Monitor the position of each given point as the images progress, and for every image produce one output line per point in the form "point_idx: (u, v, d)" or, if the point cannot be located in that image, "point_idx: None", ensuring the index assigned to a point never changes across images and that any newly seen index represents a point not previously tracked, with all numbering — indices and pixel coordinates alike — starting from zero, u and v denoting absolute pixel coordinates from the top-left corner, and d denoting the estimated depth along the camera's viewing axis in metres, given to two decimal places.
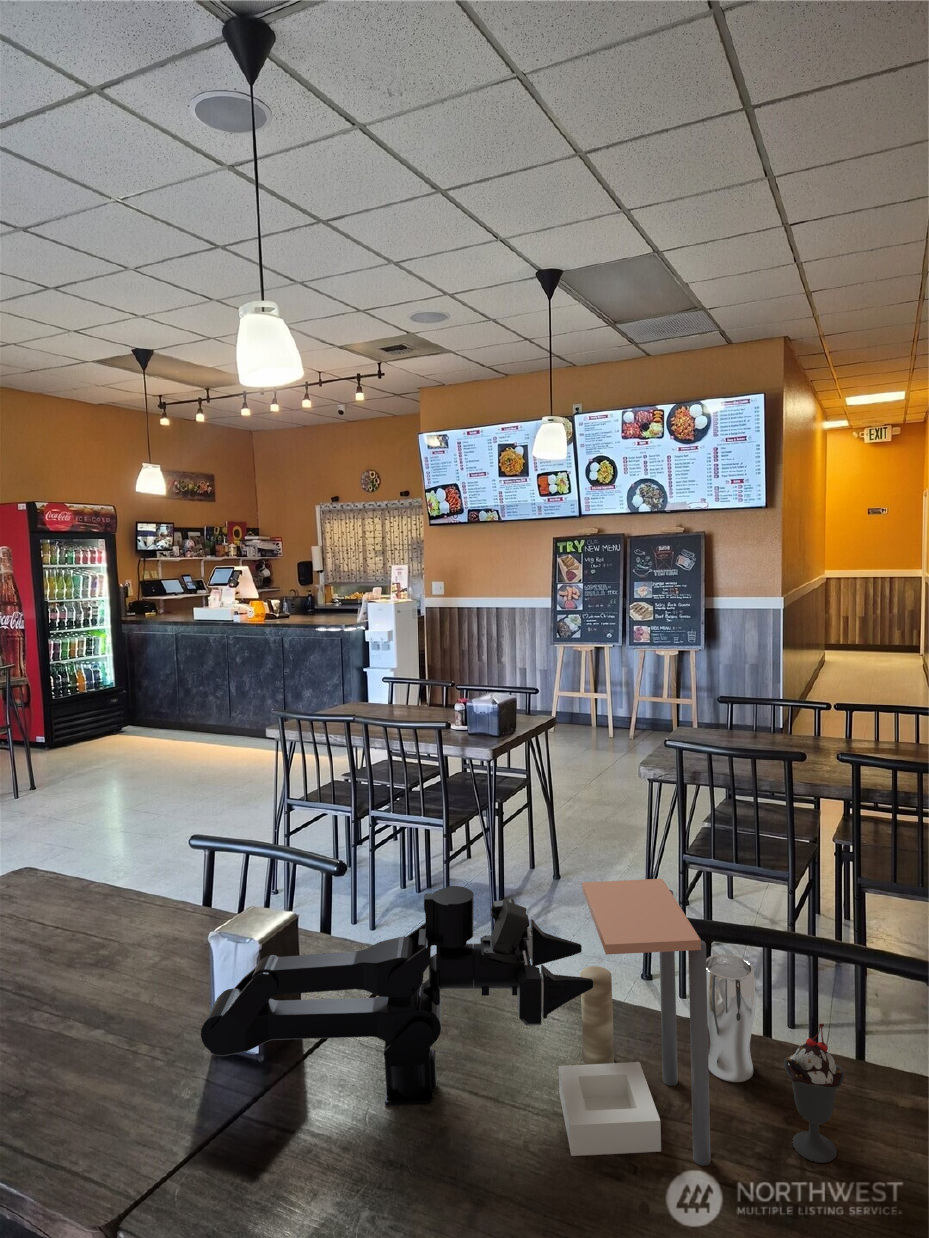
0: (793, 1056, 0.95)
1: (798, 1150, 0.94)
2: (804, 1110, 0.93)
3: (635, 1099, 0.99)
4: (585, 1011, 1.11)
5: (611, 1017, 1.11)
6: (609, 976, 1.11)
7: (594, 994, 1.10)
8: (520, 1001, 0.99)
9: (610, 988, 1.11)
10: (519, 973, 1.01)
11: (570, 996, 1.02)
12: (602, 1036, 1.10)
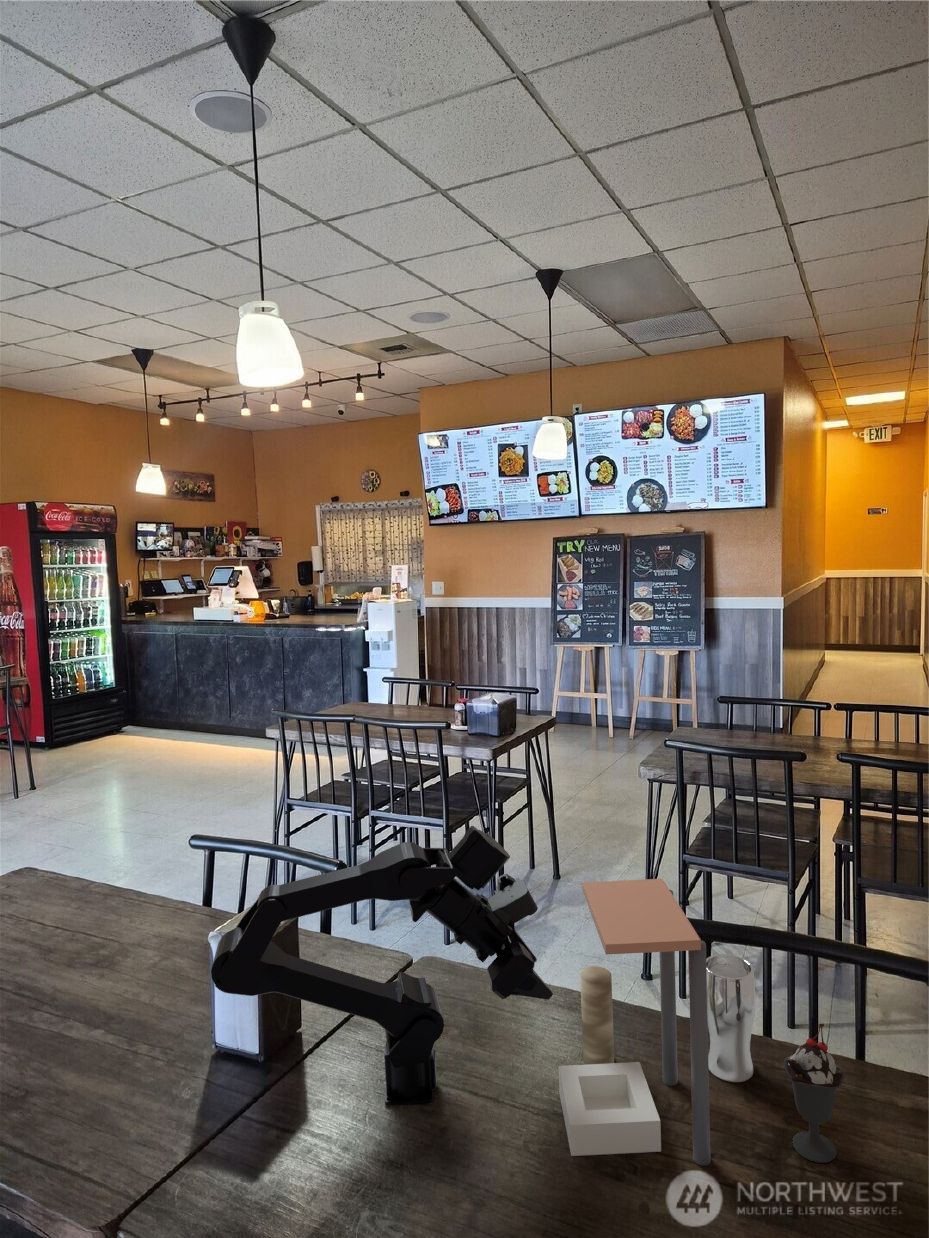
0: (793, 1056, 0.95)
1: (798, 1150, 0.94)
2: (804, 1110, 0.93)
3: (635, 1099, 0.99)
4: (585, 1011, 1.11)
5: (611, 1017, 1.11)
6: (609, 976, 1.11)
7: (594, 994, 1.10)
8: (504, 968, 1.00)
9: (610, 988, 1.11)
10: (512, 945, 1.03)
11: (530, 993, 1.04)
12: (602, 1036, 1.10)
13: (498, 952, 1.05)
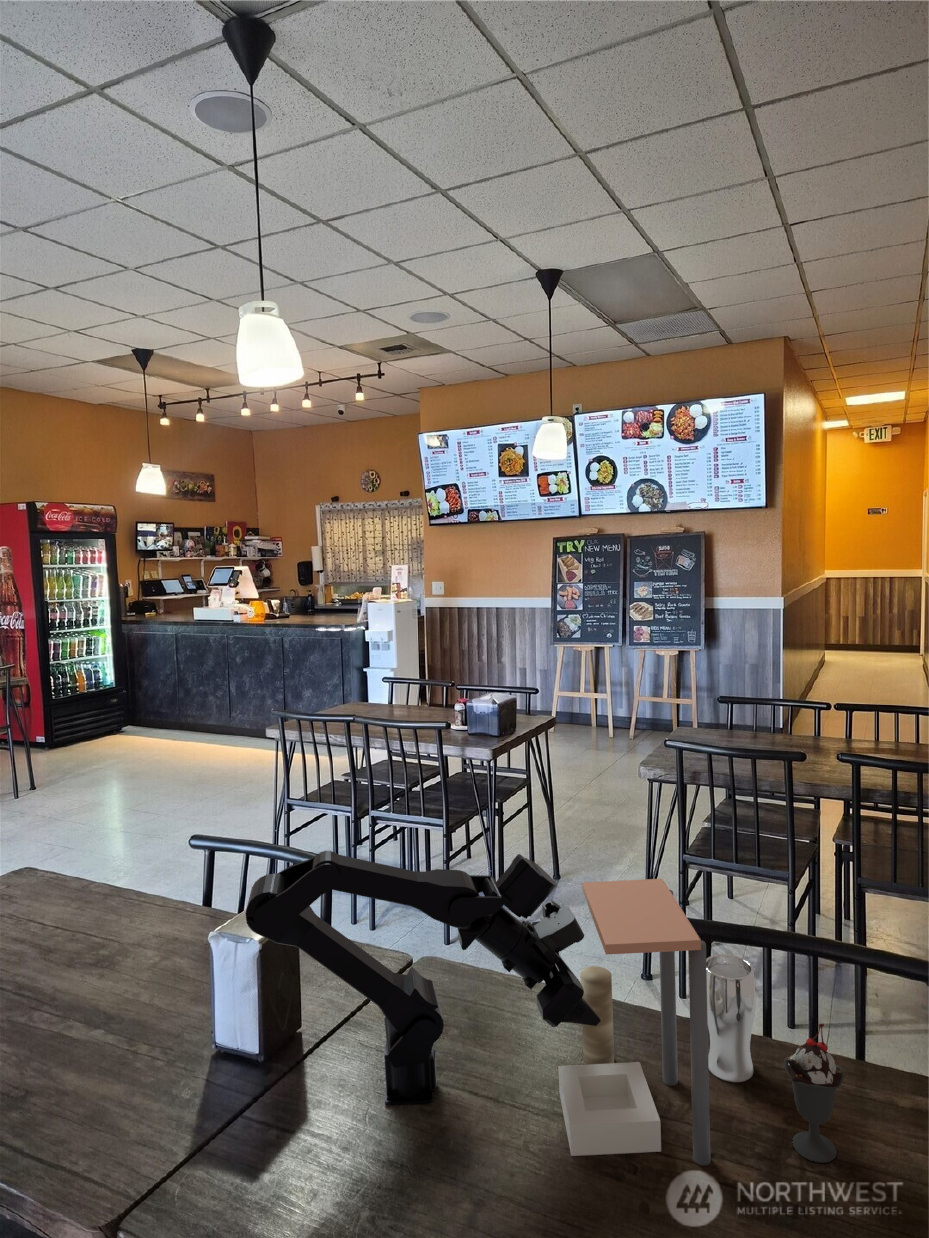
0: (793, 1056, 0.95)
1: (798, 1150, 0.94)
2: (804, 1110, 0.93)
3: (635, 1099, 0.99)
4: None
5: (611, 1017, 1.11)
6: (609, 976, 1.11)
7: (594, 994, 1.10)
8: (555, 996, 1.02)
9: (610, 988, 1.11)
10: (561, 973, 1.04)
11: (579, 1020, 1.06)
12: (602, 1036, 1.10)
13: (546, 979, 1.07)
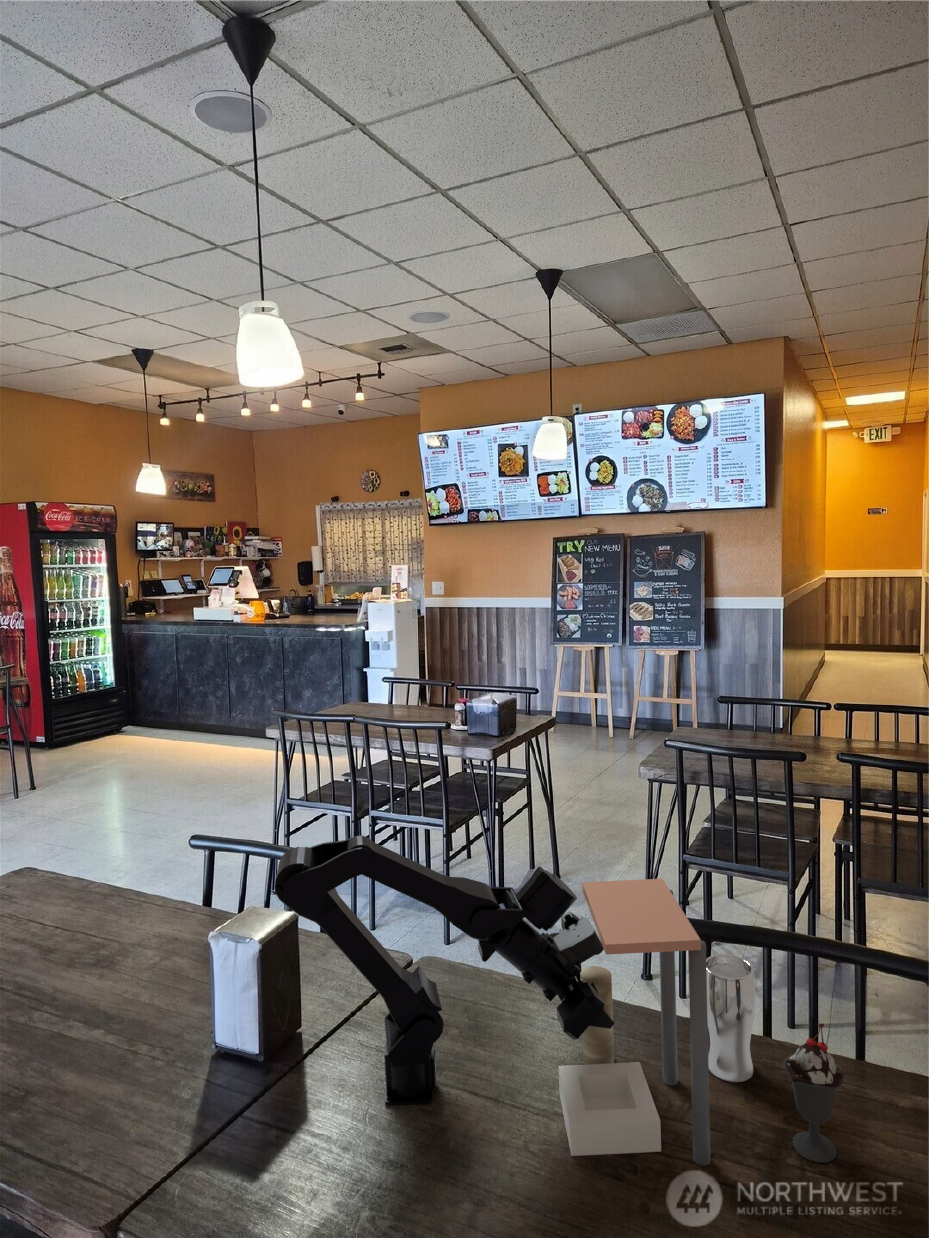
0: (793, 1056, 0.95)
1: (798, 1150, 0.94)
2: (804, 1110, 0.93)
3: (635, 1099, 0.99)
4: None
5: (611, 1017, 1.11)
6: (609, 976, 1.11)
7: None
8: (576, 1009, 1.02)
9: (610, 988, 1.11)
10: (581, 986, 1.05)
11: (593, 1023, 1.09)
12: (602, 1035, 1.10)
13: (566, 992, 1.07)
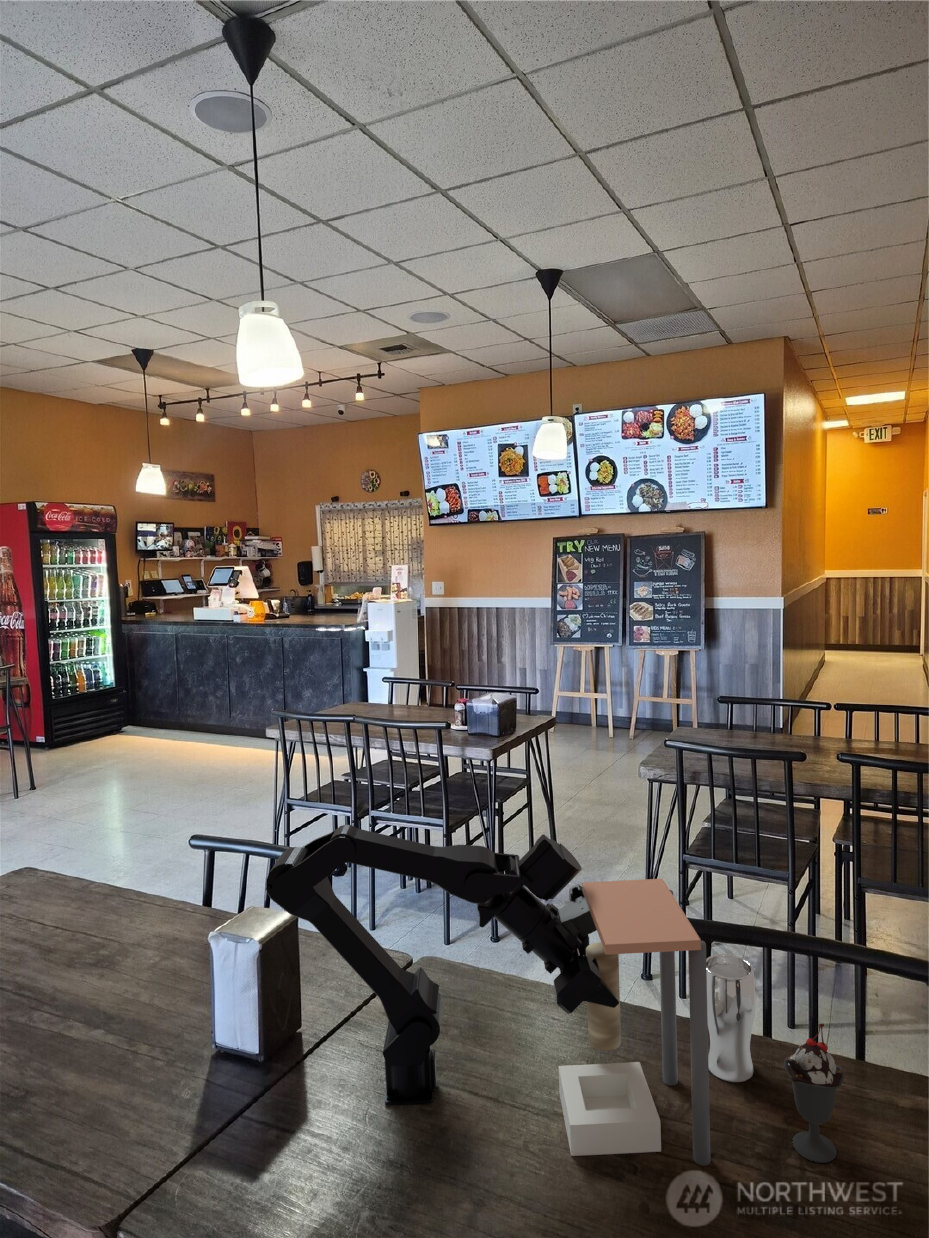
0: (793, 1056, 0.95)
1: (798, 1150, 0.94)
2: (804, 1110, 0.93)
3: (635, 1099, 0.99)
4: None
5: (617, 996, 1.06)
6: None
7: None
8: (570, 982, 0.98)
9: (616, 966, 1.06)
10: (579, 959, 1.00)
11: (595, 1000, 1.04)
12: (606, 1014, 1.05)
13: (566, 965, 1.03)
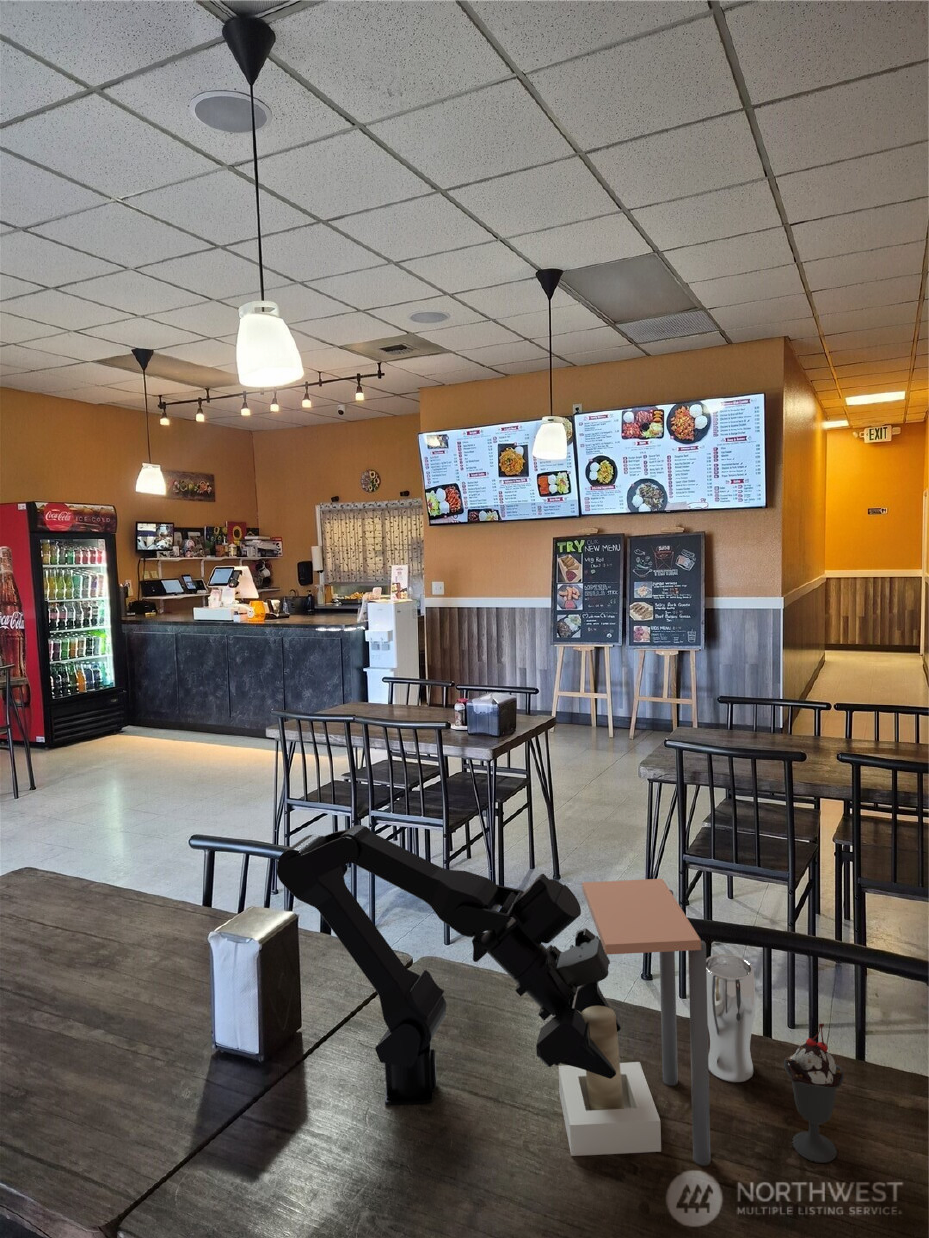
0: (793, 1056, 0.95)
1: (798, 1150, 0.94)
2: (804, 1110, 0.93)
3: (635, 1099, 0.99)
4: None
5: (614, 1066, 0.99)
6: (611, 1020, 0.99)
7: (590, 1037, 0.99)
8: (550, 1034, 0.92)
9: (611, 1033, 0.98)
10: (566, 1011, 0.94)
11: (587, 1067, 0.95)
12: (601, 1085, 0.98)
13: (557, 1014, 0.97)
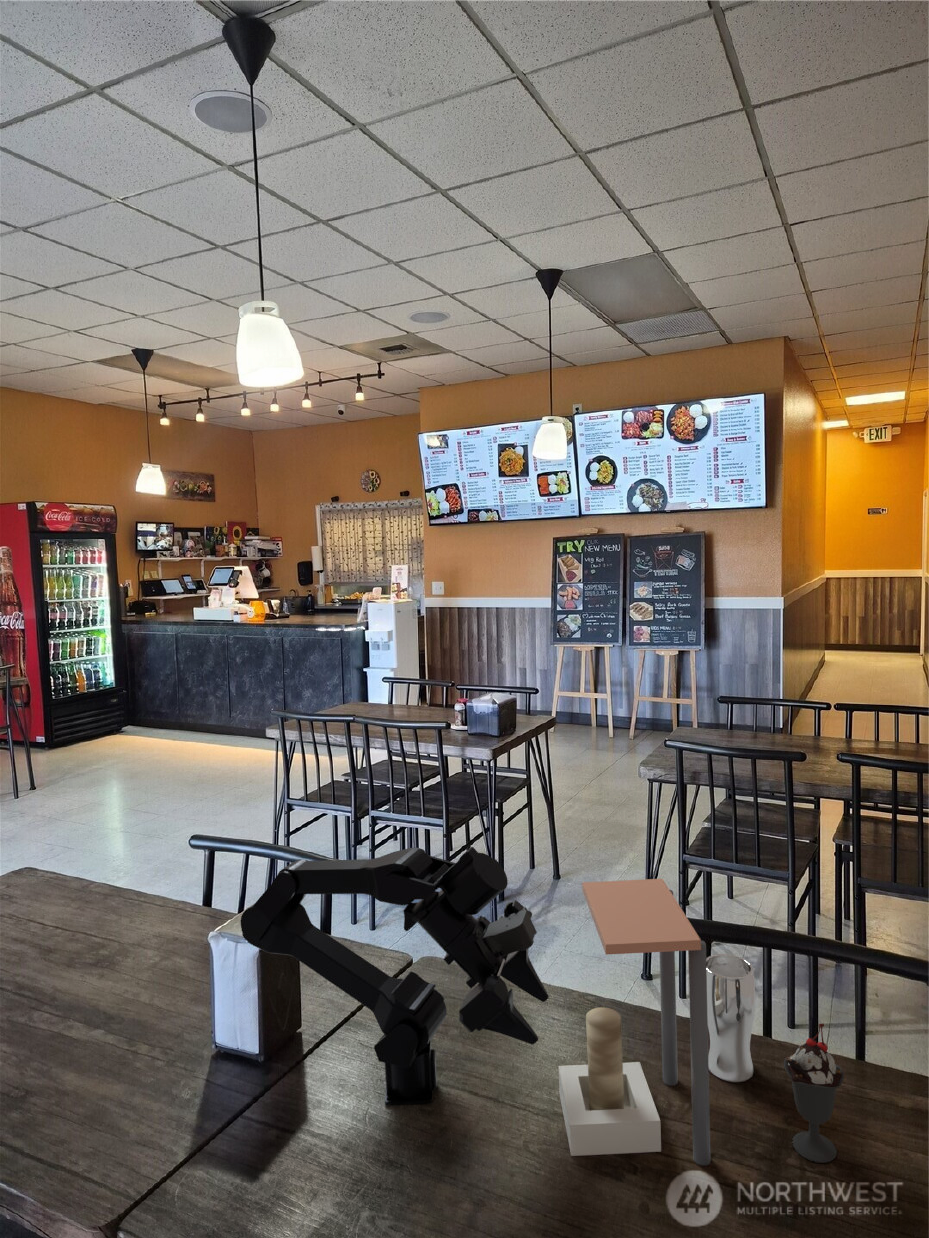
0: (793, 1056, 0.95)
1: (798, 1150, 0.94)
2: (804, 1110, 0.93)
3: (635, 1099, 0.99)
4: (588, 1055, 1.00)
5: (617, 1069, 0.99)
6: (616, 1023, 0.98)
7: (595, 1039, 0.98)
8: (472, 1000, 0.95)
9: (616, 1036, 0.98)
10: (489, 978, 0.97)
11: (510, 1033, 0.97)
12: (603, 1087, 0.98)
13: None
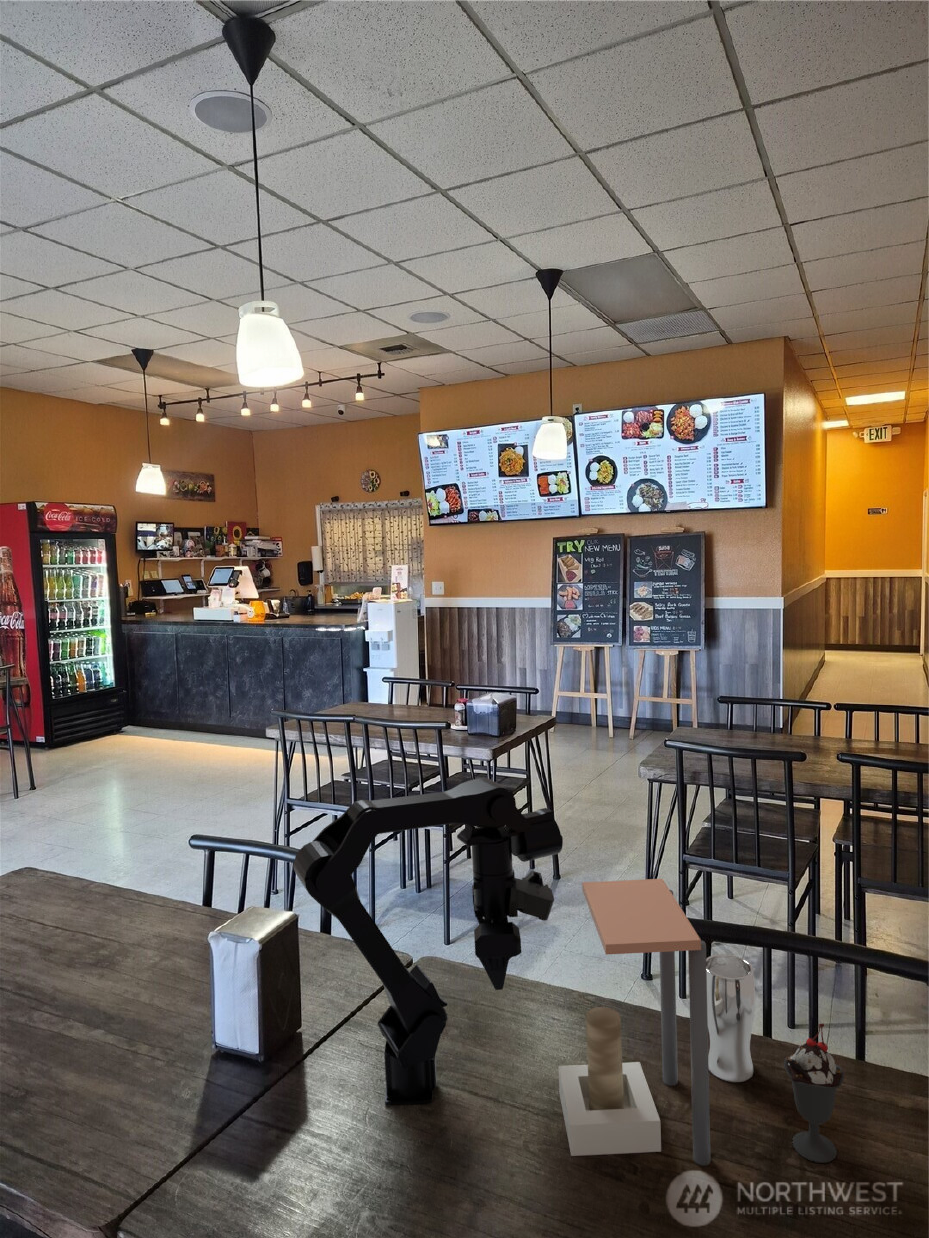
0: (793, 1056, 0.95)
1: (798, 1150, 0.94)
2: (804, 1110, 0.93)
3: (635, 1099, 0.99)
4: (587, 1054, 1.00)
5: (617, 1068, 0.99)
6: (616, 1022, 0.99)
7: (595, 1038, 0.98)
8: (498, 935, 1.04)
9: (615, 1036, 0.98)
10: (513, 925, 1.07)
11: (490, 972, 1.08)
12: (603, 1086, 0.98)
13: (495, 921, 1.09)
